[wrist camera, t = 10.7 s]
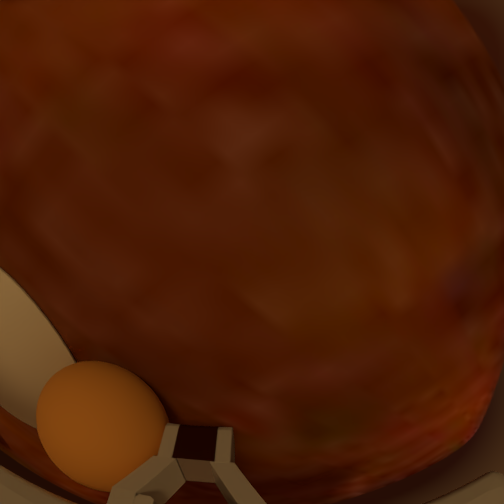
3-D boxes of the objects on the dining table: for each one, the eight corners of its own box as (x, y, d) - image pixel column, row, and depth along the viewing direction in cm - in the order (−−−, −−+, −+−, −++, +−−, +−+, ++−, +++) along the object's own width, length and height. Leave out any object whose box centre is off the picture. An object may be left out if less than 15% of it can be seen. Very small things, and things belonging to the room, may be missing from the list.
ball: (159, 408, 13) (65, 428, 11) (135, 322, 11) (19, 345, 9) (202, 491, 9) (83, 519, 6) (178, 418, 7) (7, 450, 4)
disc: (-10, 406, 13) (-11, 408, 13) (-76, 253, 9) (-78, 254, 9) (122, 450, 13) (121, 452, 13) (43, 247, 9) (40, 248, 9)
